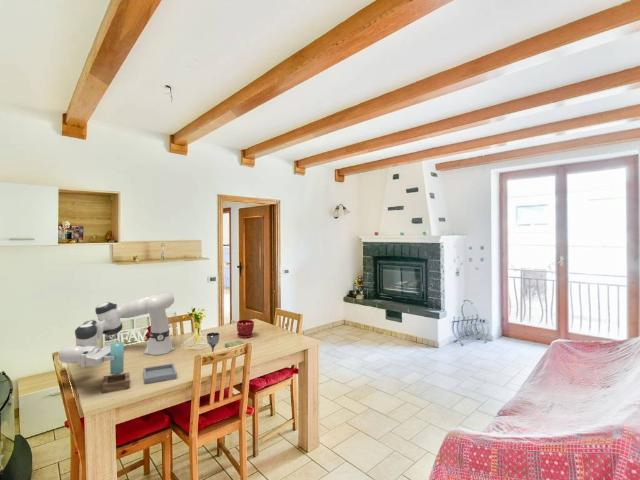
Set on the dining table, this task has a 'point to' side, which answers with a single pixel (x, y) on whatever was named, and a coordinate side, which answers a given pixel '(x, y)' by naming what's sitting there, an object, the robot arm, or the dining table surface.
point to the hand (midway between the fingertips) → (118, 355)
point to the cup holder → (116, 382)
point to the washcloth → (233, 343)
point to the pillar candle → (117, 358)
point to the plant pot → (245, 328)
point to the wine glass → (212, 339)
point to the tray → (159, 373)
